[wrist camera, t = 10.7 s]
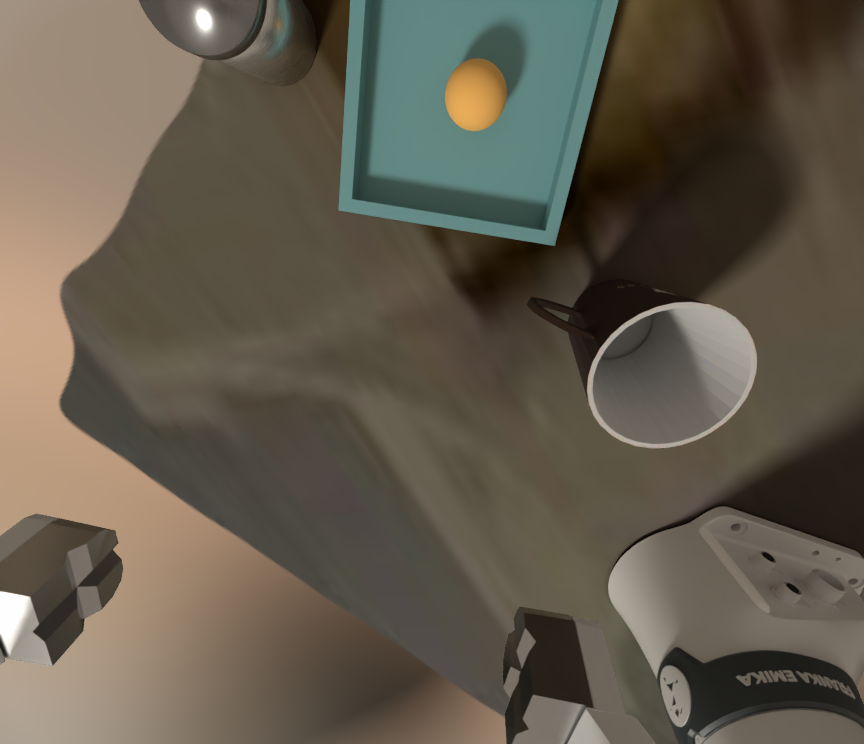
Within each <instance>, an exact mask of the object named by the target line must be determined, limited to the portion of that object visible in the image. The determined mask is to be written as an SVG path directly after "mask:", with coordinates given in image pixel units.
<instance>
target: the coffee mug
mask: <svg viewBox="0 0 864 744" xmlns="http://www.w3.org/2000/svg"><path fill="white" fill-rule="evenodd" d="M527 305H528V307H529V308H530V309H531V310H532V311H533V312H534V313H536V314H537V315H539V316H540V317H542V318H543V319H545V320H547V321H548V322H550V323H552V324H554V325H555V326H557V327H559V328H561V329H563V330H565V331H567V332H568V333H569V338H570V341H571V345H572V348H573V352H574V355H575V358H576V362H577V365H578V369H579V372H580V375H581V379H582V382H583V386H584V389H585V392H586V396H587V399H588V403H589V405H590V408H591V410H592V413H593V415H594V417H595V418H596V420H597V421H598V423H599V424H600V425H601V427H603V428H604V429H605V430H606V431H607V432H608V433H609V434H610V435H612V436H614V437H615V438H617V439H619V440H621V441H623V442H625V443H628V444H631V445H634V446H639V447H646V448H668V447H673V446H679V445H683V444H686V443H689V442H692V441H695V440H698V439H700V438H702V437H704V436H706V435H708V434H710V433H712V432H713V431H714V430H716V429H717V428H719V427H720V426H721V425H723V424H724V423H725V422H726V421H728V420H729V419H730V418H731V417H732V416H733V415H734V414H735V413H736V412H737V410H738V409H739V408H740V406H741V405H742V404H743V402H744V401H745V400H746V398H747V396H748V394H749V392H750V390H751V388H752V386H753V382H754V378H755V375H756V371H757V354H756V349H755V345H754V341H753V339H752V337H751V336H750V334H749V332H748V330H747V328H746V327H745V326H744V325H743V324H742V323H741V322H740V321H739V320H738V319H737V318H736V317H734V316H733V315H731V314H730V313H728V312H727V311H725V310H723V309H720V308H718V307H715V306H712V305H709V304H706V303H703V302H699V301H696V300H693V299H689V298H686V297H682V296H679V295H676V294H672V293H669V292H665V291H662V290H659V289H655V288H652V287H648V286H645V285H642V284H638V283H635V282H631V281H627V280H610V281H606V282H602V283H600V284H597V285H595V286H593V287H592V288H590V289H589V290H587V291H586V292H585V293H584V294H583V295H582V296H581V297H580V298H579V299H578V300H577V302H576V303H575V304H574V306H573V308H570V307H567V306H564V305H561V304H558V303H555V302H552V301H548V300H545V299H540V298H534V297H531V298H530V300H529V302H528V303H527ZM543 307H546V308H550V309H553V310H556V311H560V312H563V313H566V314H569V315H570V316H569V319H568V322H566V321H564V320H562V319H560V318H558V317H557V316H555V315H553V314H552V313H550V312H548V311H547V310H545V309H544V308H543Z"/></svg>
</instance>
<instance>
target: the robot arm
mask: <svg viewBox="0 0 864 744" xmlns="http://www.w3.org/2000/svg"><path fill="white" fill-rule="evenodd" d="M117 544H118V540H117V536H116V532H115V531H114V530H110V529H106V528H101V527H97V526H92V525H88V524H83V523H78V522H74V521H69V520H65V519H60V518H55V517H50V516H45V515H40V514H34V515H31V516H28V517H26V518H24V519H22V520H21V521H20V522H19V523H17V524H16V525H14V526H13V527H12V528H10V529H9V530H8V531H6V532H5V533H4V534H2V535H1V536H0V664H2V663H3V662H5V658H7V659H13V660H19V661H26V662H31V663H37V664H43V665H50V666H53V665H54V664H55V663H56V662H57V660H58V659H59V658H60V657H61V656H62V655H63V654H64V652H65V651H66V650H67V649H68V648H69V646H70V645H71V644H72V643H73V642H74V641H75V639H77V637H78V636H79V635H80V634H81V633H82V632H83V628H84V619H85V618H86V617H88V616H90V615H92V614H94V613H96V612H98V611H100V610H101V609H102V608H103V607H104V606H105V605H106V604H107V603H108V601H109V600H110V599H111V598H112V597H113V595H114V593H115V591H116V589H117V587H118V585H119V583H120V581H121V578H122V572H123V565H122V560H121V558H120V557H119V556H118V555H117V554H116V553H115V552H114V551H113V548H114V547H115V546H116V545H117ZM863 587H864V558H863V557H862V556H861V555H860V554H859V553H858V552H856V551H854V550H852V549H849V548H846V547H843V546H840V545H838V544H835V543H832V542H829V541H826V540H823V539H820V538H817V537H814V536H811V535H808V534H805V533H803V532H800V531H797V530H794V529H791V528H788V527H785V526H782V525H779V524H776V523H773V522H770V521H768V520H765V519H762V518H759V517H756V516H753V515H750V514H747V513H744V512H741V511H738V510H735V509H733V508H730V507H724V506H723V507H717V508H714V509H712V510H709V511H708V512H706V513H704V514H702V515H701V516H699V517H698V518H696V519H695V520H693V521H692V522H690V523H687V524H685V525H682V526H679V527H675V528H672V529H668V530H665V531H662V532H659V533H657V534H654V535H652V536H650V537H648V538H646V539H644V540H642V541H641V542H639V543H637V544H636V545H634V546H633V547H632V548H631V549H629V550H628V551H627V552H626V553H625V554H624V555H623V556H622V557H621V558H620V559H619V561H618V562H617V563H616V565H615V567H614V568H613V570H612V573H611V575H610V579H609V585H608V591H609V596H610V600H611V602H612V604H613V606H614V607H615V609H616V610H617V611H618V613H619V614H620V615H621V617H622V618H623V619H624V621H625V622H626V624H627V625H628V627H629V628H630V630H631V632H632V633H633V635H634V637H635V638H636V640H637V642H638V643H639V645H640V647H641V649H642V651H643V652H644V654H645V656H646V658H647V660H648V662H649V664H650V666H651V668H652V670H653V672H654V674H655V676H656V678H657V682H658V686H659V689H660V693H661V697H662V700H663V703H664V706H665V709H666V712H667V715H668V718H669V721H670V723H671V726H672V728H673V731H674V733H675V736H676V738H677V741H678V743H679V744H864V704H863V702H862V699H861V697H860V694H859V692H858V689H857V684H858V683H859V681H860V679H861V677H862V675H863V673H864V601H863V600H862V598H861V597H860V596H859V595H860V593H861V591H862V589H863ZM514 626H515V630H514V631H512V632H511V633H509V634H508V638H507V641H506V644H505V650H504V657H503V688H504V689H505V691H506V692H507V694H508V696H509V697H510V701H509V703H508V706H507V709H506V711H505V726H506V742H507V744H656V743H655V742H654V740H653V739H652V738H651V737H650V735H649V734H648V733H647V732H646V730H645V729H644V728H643V726H642V725H641V724H640V723H639V721H638V720H637V719H636V718H635V717H634V716H630V715H626V712H625V708H624V705H623V701H622V698H621V694H620V691H619V687H618V684H617V680H616V677H615V673H614V670H613V666H612V663H611V659H610V656H609V652H608V649H607V645H606V642H605V638H604V635H603V631H602V628H601V626H600V624H599V623H598V622H597V621H594V620H589V619H584V618H578V617H573V616H569V615H565V614H560V613H554V612H548V611H543V610H537V609H531V608H526V607H519V609H518V610H517V612H516V614H515V617H514Z"/></svg>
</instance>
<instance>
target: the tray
mask: <svg viewBox="0 0 864 744" xmlns="http://www.w3.org/2000/svg"><path fill="white" fill-rule="evenodd" d="M618 1H619V0H350V18H349V35H348V53H347V71H346V88H345V106H344V124H343V141H342V159H341V177H340V194H339V210H340V211H346V212H352V213H358V214H364V215H370V216H376V217H382V218H388V219H394V220H401V221H407V222H413V223H419V224H425V225H431V226H437V227H443V228H449V229H455V230H461V231H467V232H474V233H480V234H486V235H492V236H498V237H504V238H510V239H516V240H522V241H528V242H534V243H540V244H547V245H553V246H555V242H556V239H557V235H558V231H559V227H560V223H561V219H562V216H563V212H564V208H565V204H566V200H567V196H568V193H569V189H570V185H571V181H572V177H573V173H574V169H575V166H576V162H577V158H578V154H579V150H580V146H581V143H582V139H583V135H584V131H585V127H586V123H587V120H588V116H589V112H590V108H591V104H592V100H593V97H594V93H595V89H596V85H597V81H598V77H599V74H600V70H601V66H602V62H603V58H604V54H605V51H606V47H607V43H608V39H609V35H610V31H611V27H612V24H613V20H614V16H615V12H616V8H617V4H618ZM475 58H480V59H485V60H488V61H490V62H492V63H493V64H494V65H496V66H497V67H498V69H499V70H500V71H501V73H502V75H503V77H504V79H505V82H506V87H507V98H506V104H505V107H504V110H503V112H502V114H501V115H500V117H499V118H498V119H497V121H496V122H495V123H493V124H492V125H491V126H490V127H488V128H486V129H483V130H480V131H469V130H465V129H463V128H461V127H460V126H458V125H457V124H456V123H455V122H454V121H453V120H452V118H451V117H450V115H449V113H448V111H447V108H446V103H445V90H446V85H447V82H448V80H449V78H450V76H451V74H452V72H453V71H454V70H455V69H456V68H457V67H458V66H459V65H460V64H462V63H463V62H465V61H467V60H470V59H475Z"/></svg>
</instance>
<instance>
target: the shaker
mask: <svg viewBox="0 0 864 744" xmlns="http://www.w3.org/2000/svg"><path fill="white" fill-rule="evenodd" d="M139 2H140V4H141V6H142V8H143V10H144V12H145V13H146V15H147V17H148V18H149V20H150V21H151V22H152V24H153V25H154V26H155V28H156V29H157V30H158V31H159V32H160V33H161V34H162V35H163V36H164V37H165V38H166V39H167V40H169V41H170V42H172V43H173V44H174V45H176V46H178V47H179V48H181V49H183V50H185V51H187V52H190V53H192V54H194V55H197V56H199V57H202V58H205V59H209V60H219V61H221V62H223V63H225V64H227V65H230V66H232V67H234V68H236V69H238V70H240V71H243V72H245V73H247V74H249V75H251V76H254V77H256V78H258V79H260V80H262V81H264V82H267V83H269V84H272V85H277V86H286V85H291V84H293V83H296V82H297V81H299V80H300V79H302V78H303V77H304V76H305V75H306V74H307V73H308V71H309V70H310V68H311V66H312V64H313V62H314V59H315V55H316V50H317V34H316V28H315V24H314V21H313V18H312V16H311V14H310V12H309V10H308V8H307V7H306V5H305V4H304V2H303V1H302V0H139Z"/></svg>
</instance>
